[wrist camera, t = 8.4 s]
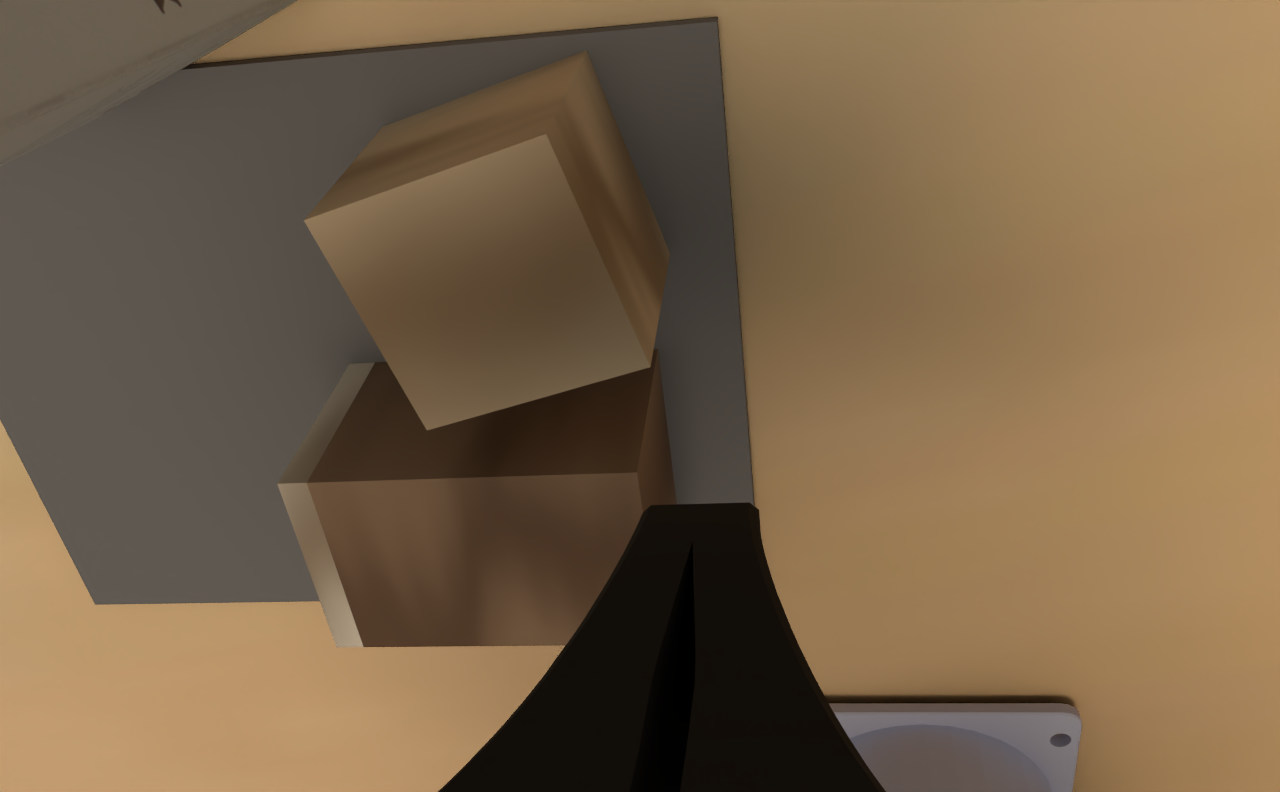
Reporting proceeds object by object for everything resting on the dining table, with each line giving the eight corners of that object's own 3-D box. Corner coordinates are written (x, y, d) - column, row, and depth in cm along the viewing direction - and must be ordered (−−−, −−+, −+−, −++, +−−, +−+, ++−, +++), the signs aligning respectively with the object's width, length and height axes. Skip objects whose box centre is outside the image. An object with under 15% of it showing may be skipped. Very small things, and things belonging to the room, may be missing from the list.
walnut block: (394, 515, 27) (677, 508, 26) (336, 647, 24) (662, 644, 23) (349, 363, 25) (657, 349, 24) (276, 483, 21) (636, 472, 20)
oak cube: (669, 253, 23) (650, 366, 19) (479, 313, 24) (426, 430, 20) (586, 50, 21) (546, 133, 17) (382, 126, 22) (303, 220, 18)
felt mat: (760, 586, 28) (760, 594, 28) (100, 596, 31) (95, 604, 30) (717, 17, 20) (716, 21, 20) (-154, 96, 23) (-164, 101, 23)
